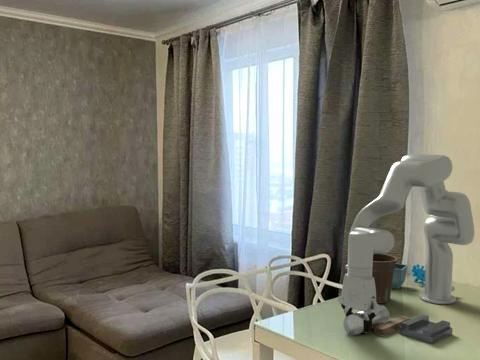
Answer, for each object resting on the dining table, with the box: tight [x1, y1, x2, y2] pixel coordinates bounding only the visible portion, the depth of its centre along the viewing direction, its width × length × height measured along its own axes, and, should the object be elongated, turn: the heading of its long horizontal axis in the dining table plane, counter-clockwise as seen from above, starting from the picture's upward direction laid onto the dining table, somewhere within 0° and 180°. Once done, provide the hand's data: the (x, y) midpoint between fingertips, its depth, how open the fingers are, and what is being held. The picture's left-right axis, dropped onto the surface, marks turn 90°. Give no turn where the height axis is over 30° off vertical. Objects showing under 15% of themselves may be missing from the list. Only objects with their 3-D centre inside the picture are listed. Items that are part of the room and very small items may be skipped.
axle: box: [343, 304, 391, 336], centre depth 158 cm, size 16×6×6 cm, turn 131°
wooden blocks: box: [373, 315, 412, 337], centre depth 162 cm, size 16×13×2 cm
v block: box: [398, 314, 453, 345], centre depth 154 cm, size 12×11×4 cm
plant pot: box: [372, 253, 398, 304], centre depth 189 cm, size 16×16×16 cm
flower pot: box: [391, 263, 409, 290], centre depth 205 cm, size 9×9×9 cm
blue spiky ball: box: [410, 263, 425, 285], centre depth 212 cm, size 11×6×10 cm
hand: (358, 328), depth 155 cm, fingers closed on axle, 6 cm apart
